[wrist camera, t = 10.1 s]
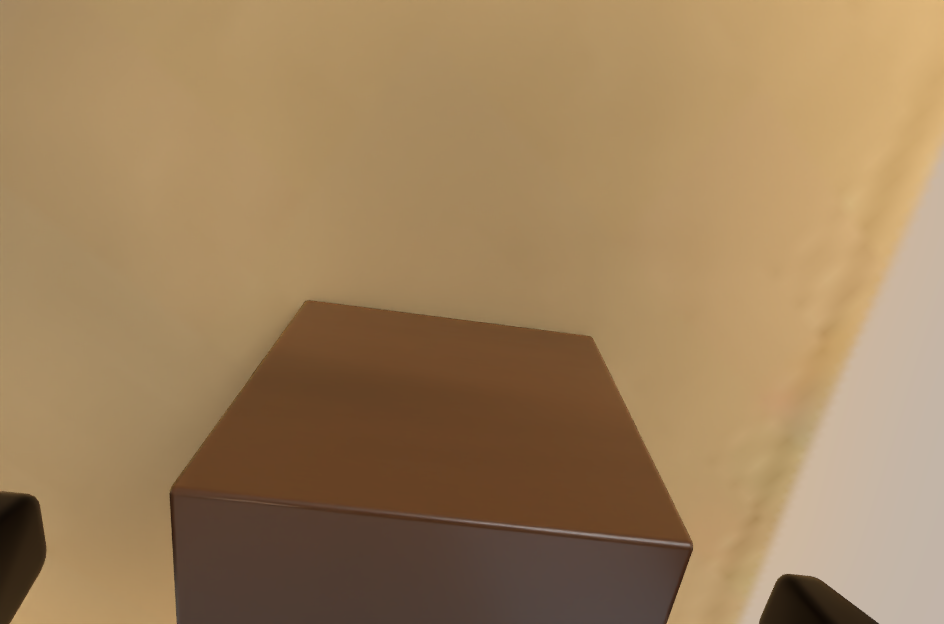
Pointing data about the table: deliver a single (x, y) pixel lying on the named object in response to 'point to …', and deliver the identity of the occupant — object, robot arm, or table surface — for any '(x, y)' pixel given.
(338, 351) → the block
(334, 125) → the table surface
